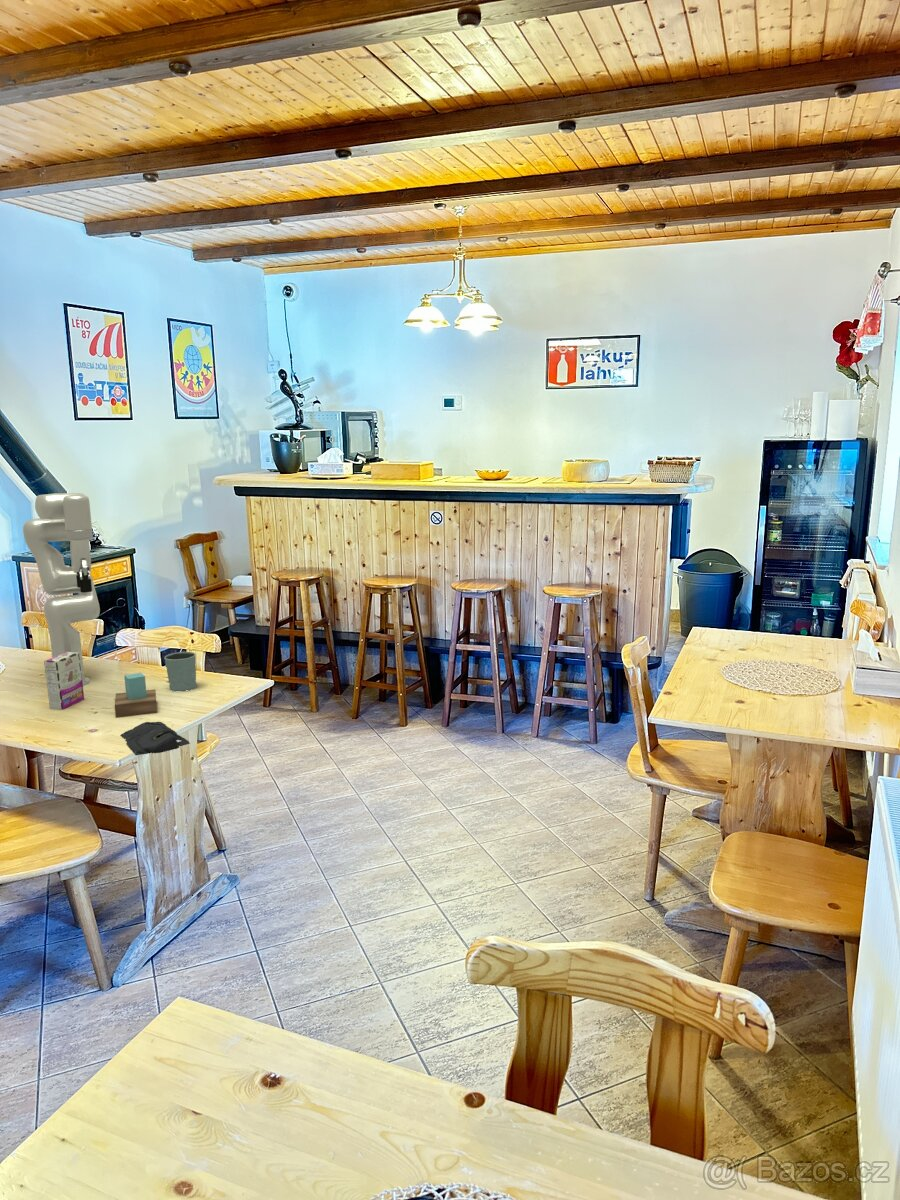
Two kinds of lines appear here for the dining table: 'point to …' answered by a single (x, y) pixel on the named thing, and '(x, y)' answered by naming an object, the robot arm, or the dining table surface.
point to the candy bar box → (64, 680)
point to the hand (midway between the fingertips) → (84, 589)
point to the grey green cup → (181, 670)
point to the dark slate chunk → (152, 738)
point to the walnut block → (135, 704)
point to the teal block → (135, 686)
